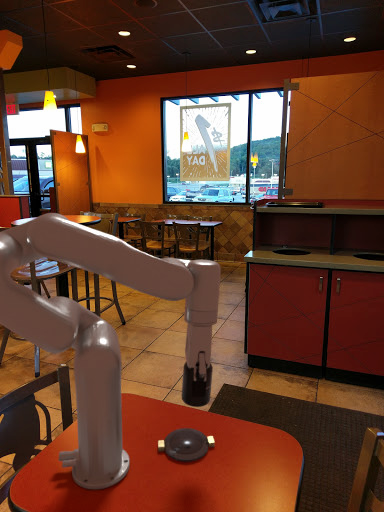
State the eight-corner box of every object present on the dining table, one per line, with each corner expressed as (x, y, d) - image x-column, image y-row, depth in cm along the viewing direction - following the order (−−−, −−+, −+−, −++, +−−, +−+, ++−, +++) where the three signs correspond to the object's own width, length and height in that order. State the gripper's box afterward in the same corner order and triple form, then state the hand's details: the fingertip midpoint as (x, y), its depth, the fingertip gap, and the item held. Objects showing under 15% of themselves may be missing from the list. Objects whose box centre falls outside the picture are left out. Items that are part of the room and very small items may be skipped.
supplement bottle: (207, 410, 81) (210, 360, 79) (177, 404, 82) (180, 355, 81) (212, 395, 87) (216, 348, 86) (185, 390, 89) (188, 344, 87)
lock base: (159, 464, 83) (159, 459, 83) (157, 433, 94) (157, 429, 93) (218, 459, 85) (218, 454, 85) (209, 429, 96) (209, 425, 95)
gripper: (181, 303, 90) (178, 370, 93) (188, 327, 73) (183, 408, 75) (211, 304, 91) (206, 370, 93) (224, 328, 74) (218, 408, 76)
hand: (196, 387), depth 84 cm, fingers closed on supplement bottle, 6 cm apart
